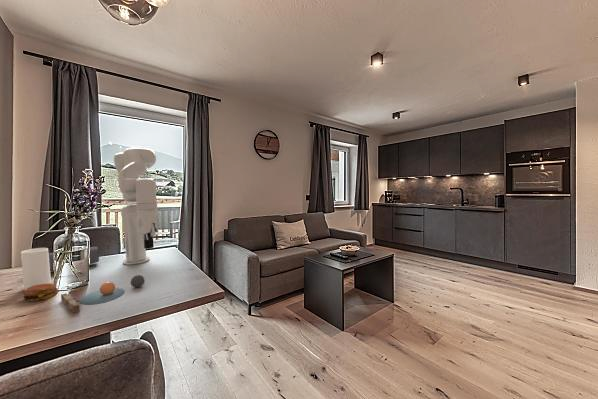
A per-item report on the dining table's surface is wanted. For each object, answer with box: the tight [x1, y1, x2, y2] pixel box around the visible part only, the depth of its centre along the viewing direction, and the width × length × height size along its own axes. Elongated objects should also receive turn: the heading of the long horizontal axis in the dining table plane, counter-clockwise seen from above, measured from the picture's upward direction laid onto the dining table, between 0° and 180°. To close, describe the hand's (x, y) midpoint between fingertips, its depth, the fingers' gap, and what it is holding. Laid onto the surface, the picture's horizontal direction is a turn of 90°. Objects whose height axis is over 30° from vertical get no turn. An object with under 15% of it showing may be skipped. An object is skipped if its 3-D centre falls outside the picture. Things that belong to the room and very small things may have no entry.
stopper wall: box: [60, 292, 81, 314], centre depth 96 cm, size 16×2×2 cm, turn 54°
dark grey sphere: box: [130, 274, 146, 288], centre depth 112 cm, size 5×5×5 cm
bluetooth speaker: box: [48, 246, 100, 272], centre depth 136 cm, size 23×9×10 cm, turn 134°
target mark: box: [79, 287, 125, 305], centre depth 104 cm, size 14×14×1 cm
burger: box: [23, 282, 59, 302], centre depth 103 cm, size 10×9×5 cm
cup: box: [20, 247, 52, 291], centre depth 113 cm, size 8×8×16 cm
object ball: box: [99, 281, 116, 295], centre depth 105 cm, size 5×5×5 cm
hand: (149, 248), depth 117 cm, fingers closed
